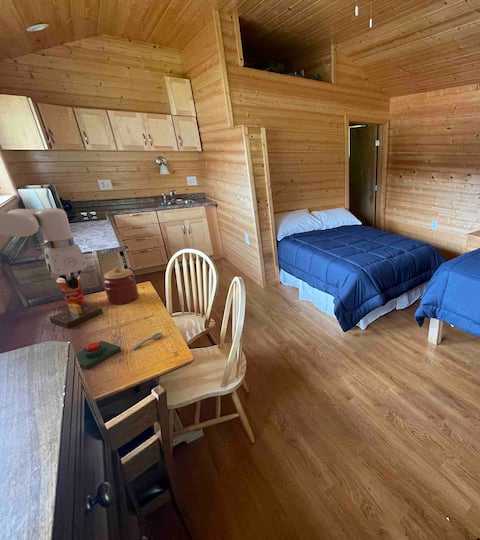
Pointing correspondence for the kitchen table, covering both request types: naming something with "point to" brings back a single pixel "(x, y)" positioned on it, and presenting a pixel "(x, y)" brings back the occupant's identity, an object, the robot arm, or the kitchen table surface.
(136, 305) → the kitchen table surface
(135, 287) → the kitchen canister
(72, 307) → the latch
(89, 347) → the button
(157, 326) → the kitchen table surface
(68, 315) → the plate
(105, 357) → the button box
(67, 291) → the coffee cup
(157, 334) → the spoon
